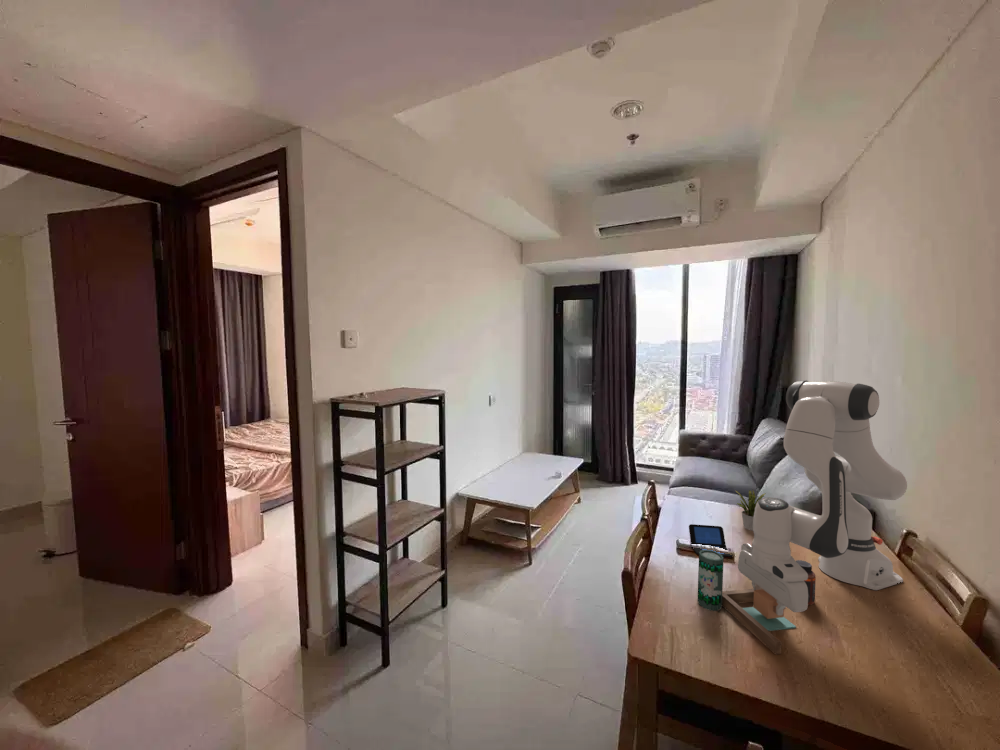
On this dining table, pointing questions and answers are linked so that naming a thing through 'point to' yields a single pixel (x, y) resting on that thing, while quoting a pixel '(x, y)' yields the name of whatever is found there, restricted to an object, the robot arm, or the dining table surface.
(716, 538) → the handheld game console
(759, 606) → the cube
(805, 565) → the supplement bottle
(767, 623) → the pad
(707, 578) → the can
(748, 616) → the wooden l-shaped wall
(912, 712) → the dining table surface
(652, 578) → the dining table surface
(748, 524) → the house plant
